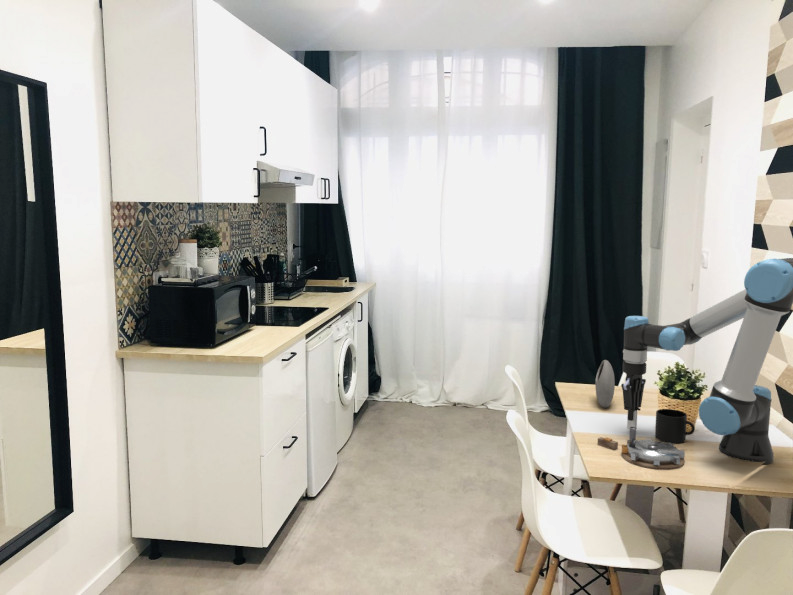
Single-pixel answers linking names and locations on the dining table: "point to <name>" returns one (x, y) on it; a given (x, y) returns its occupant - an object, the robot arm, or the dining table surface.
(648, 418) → the dining table surface
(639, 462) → the sprocket base
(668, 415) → the mug
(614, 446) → the rail
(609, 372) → the grey flattened round ornament
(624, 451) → the sprocket
